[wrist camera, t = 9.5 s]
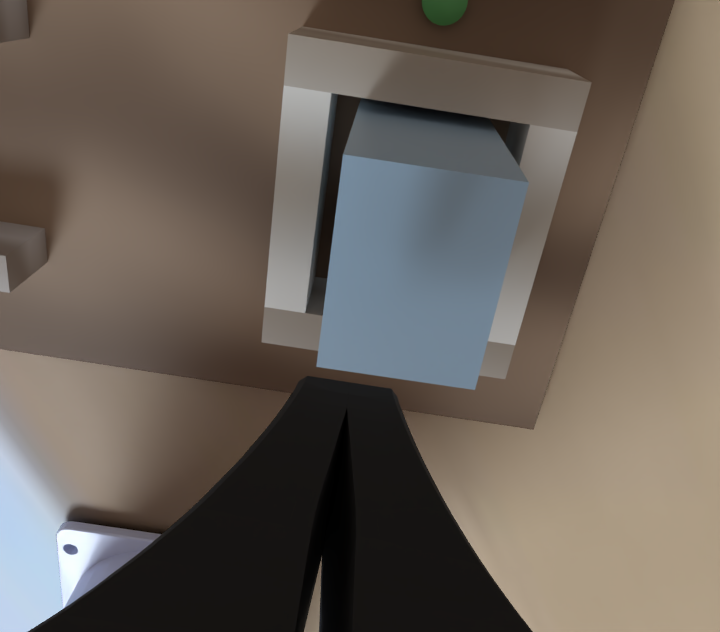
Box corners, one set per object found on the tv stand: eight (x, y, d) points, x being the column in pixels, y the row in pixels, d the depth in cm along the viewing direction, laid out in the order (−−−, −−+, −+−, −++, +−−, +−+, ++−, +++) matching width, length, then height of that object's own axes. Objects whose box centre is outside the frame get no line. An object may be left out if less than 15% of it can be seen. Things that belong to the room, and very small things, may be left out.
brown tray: (529, 417, 21) (547, 478, 18) (-182, 310, 20) (-264, 356, 18) (683, -59, 15) (741, -67, 12) (-322, -225, 14) (-475, -268, 12)
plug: (452, 265, 18) (474, 390, 12) (341, 249, 18) (316, 366, 12) (485, 113, 16) (529, 182, 11) (362, 94, 16) (343, 154, 11)
